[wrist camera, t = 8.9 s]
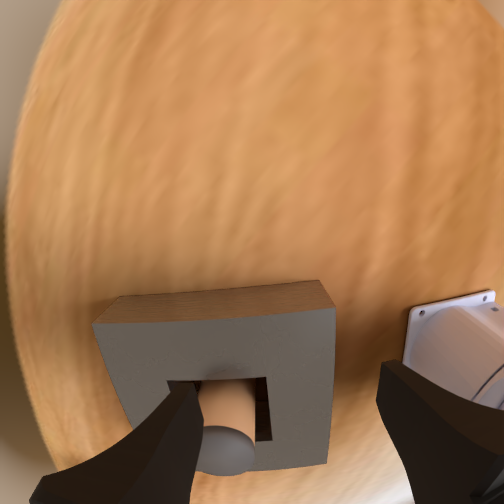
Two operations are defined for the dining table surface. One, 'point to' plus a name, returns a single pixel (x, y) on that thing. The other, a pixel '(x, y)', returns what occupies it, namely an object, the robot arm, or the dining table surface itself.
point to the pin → (227, 426)
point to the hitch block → (232, 358)
